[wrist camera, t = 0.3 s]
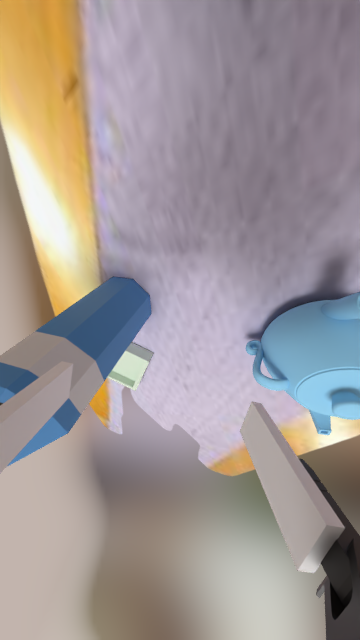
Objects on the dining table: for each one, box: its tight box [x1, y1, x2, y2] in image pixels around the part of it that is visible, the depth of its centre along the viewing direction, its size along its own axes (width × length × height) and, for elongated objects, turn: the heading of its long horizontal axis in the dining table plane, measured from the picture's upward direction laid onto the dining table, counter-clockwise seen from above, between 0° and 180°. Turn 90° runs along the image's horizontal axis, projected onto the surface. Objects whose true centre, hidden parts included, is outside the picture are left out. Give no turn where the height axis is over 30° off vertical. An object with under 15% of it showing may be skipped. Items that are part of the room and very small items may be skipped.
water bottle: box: [0, 277, 151, 466], centre depth 21 cm, size 9×9×25 cm
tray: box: [107, 342, 153, 391], centre depth 40 cm, size 14×14×2 cm
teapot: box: [246, 292, 360, 435], centre depth 21 cm, size 15×17×11 cm
